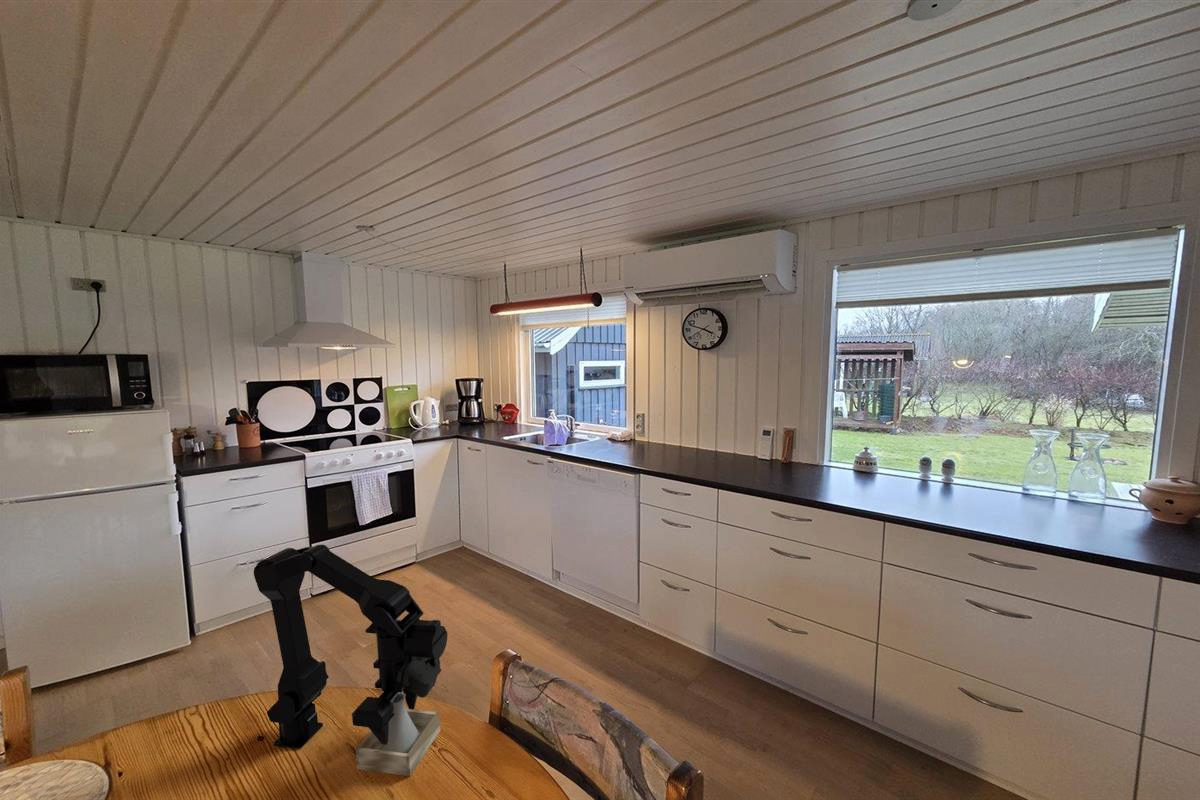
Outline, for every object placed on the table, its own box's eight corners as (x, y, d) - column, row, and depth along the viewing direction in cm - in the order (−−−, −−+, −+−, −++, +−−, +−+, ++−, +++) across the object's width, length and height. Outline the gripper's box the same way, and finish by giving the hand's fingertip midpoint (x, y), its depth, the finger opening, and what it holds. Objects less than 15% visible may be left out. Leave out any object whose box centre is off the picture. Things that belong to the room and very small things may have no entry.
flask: (404, 761, 92) (401, 713, 91) (372, 756, 93) (368, 708, 93) (426, 732, 99) (423, 687, 98) (395, 727, 100) (392, 683, 100)
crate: (357, 768, 92) (355, 749, 91) (392, 724, 103) (390, 707, 102) (410, 776, 90) (408, 756, 89) (440, 730, 101) (439, 712, 100)
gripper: (403, 688, 84) (409, 770, 85) (453, 628, 102) (457, 696, 104) (347, 682, 86) (353, 762, 87) (406, 624, 104) (410, 691, 106)
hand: (398, 725), depth 96 cm, fingers open, 9 cm apart
